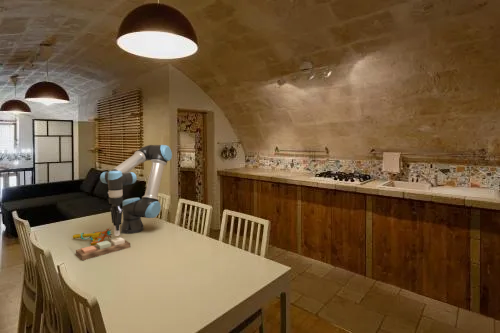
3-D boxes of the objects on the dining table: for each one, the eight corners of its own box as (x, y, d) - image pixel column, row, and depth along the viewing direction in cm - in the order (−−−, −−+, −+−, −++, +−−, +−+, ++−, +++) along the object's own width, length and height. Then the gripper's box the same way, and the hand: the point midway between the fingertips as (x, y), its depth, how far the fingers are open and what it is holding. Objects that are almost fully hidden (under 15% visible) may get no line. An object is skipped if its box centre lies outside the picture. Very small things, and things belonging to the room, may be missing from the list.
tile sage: (107, 244, 169) (107, 240, 169) (111, 247, 165) (111, 243, 165) (96, 247, 165) (96, 243, 164) (100, 249, 161) (100, 245, 160)
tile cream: (120, 240, 175) (120, 237, 175) (124, 243, 171) (124, 239, 170) (110, 243, 170) (110, 239, 170) (114, 246, 166) (114, 242, 166)
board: (122, 242, 178) (122, 238, 178) (130, 247, 170) (130, 243, 170) (75, 254, 160) (75, 250, 159) (82, 260, 151) (82, 255, 151)
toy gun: (95, 239, 166) (110, 225, 179) (57, 243, 171) (74, 229, 185) (101, 251, 169) (115, 235, 182) (63, 254, 174) (80, 239, 188)
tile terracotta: (92, 249, 163) (92, 245, 163) (96, 252, 159) (96, 248, 159) (81, 252, 159) (81, 248, 159) (84, 255, 155) (84, 251, 155)
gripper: (104, 196, 170) (106, 234, 171) (113, 199, 161) (114, 239, 163) (117, 194, 175) (119, 231, 177) (126, 197, 166) (127, 236, 168)
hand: (117, 235), depth 170 cm, fingers closed
